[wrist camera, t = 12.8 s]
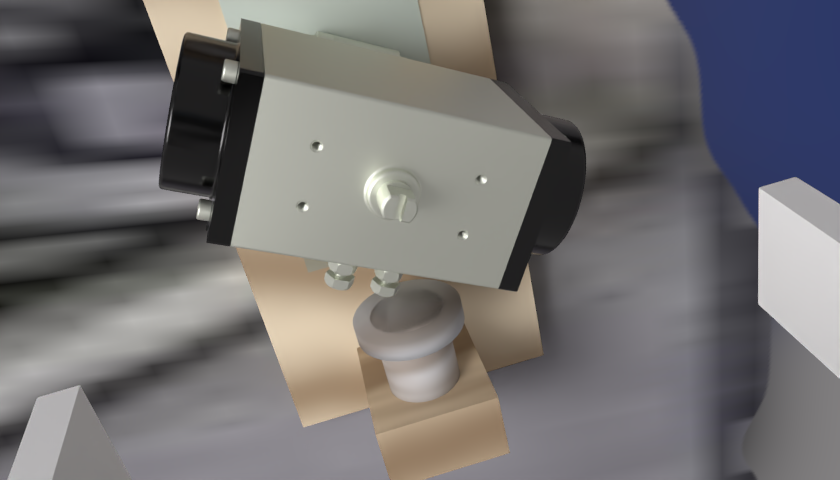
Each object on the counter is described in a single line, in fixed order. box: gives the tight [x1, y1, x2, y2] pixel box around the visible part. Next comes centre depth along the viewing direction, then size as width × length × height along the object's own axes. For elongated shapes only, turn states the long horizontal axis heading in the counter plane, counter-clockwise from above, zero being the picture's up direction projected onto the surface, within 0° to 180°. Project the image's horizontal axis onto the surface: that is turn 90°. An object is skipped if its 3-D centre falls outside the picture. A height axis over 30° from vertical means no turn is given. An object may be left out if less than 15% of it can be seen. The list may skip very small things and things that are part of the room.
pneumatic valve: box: [159, 18, 586, 297], centre depth 25 cm, size 6×12×12 cm, turn 74°
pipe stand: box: [143, 0, 543, 480], centre depth 28 cm, size 30×12×8 cm, turn 12°
